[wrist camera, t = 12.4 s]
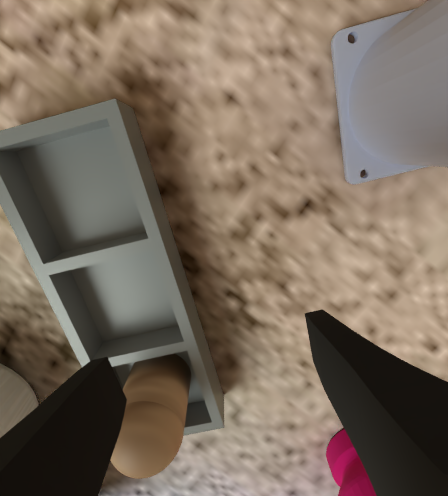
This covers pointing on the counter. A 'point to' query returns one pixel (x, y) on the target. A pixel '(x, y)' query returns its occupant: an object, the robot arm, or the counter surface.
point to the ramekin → (14, 399)
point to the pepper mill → (348, 467)
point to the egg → (152, 416)
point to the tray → (106, 246)
